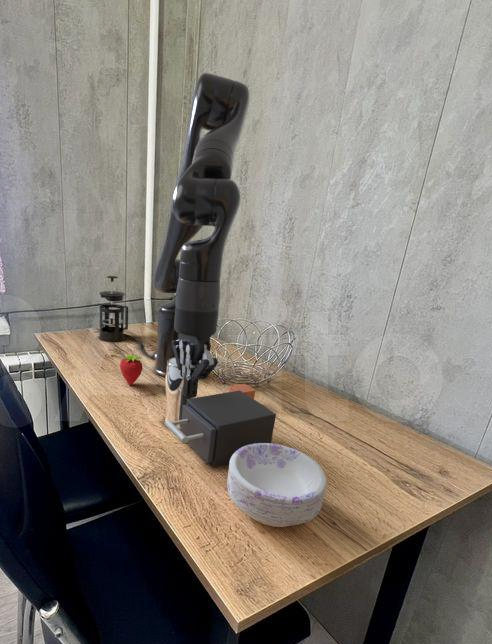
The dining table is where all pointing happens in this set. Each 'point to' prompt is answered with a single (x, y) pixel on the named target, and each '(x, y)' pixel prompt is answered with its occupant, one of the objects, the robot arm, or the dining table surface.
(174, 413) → the beer glass
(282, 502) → the paper bowls
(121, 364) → the strawberry
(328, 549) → the dining table surface
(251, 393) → the block
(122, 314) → the french press
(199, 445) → the drawer
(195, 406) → the cabinet
